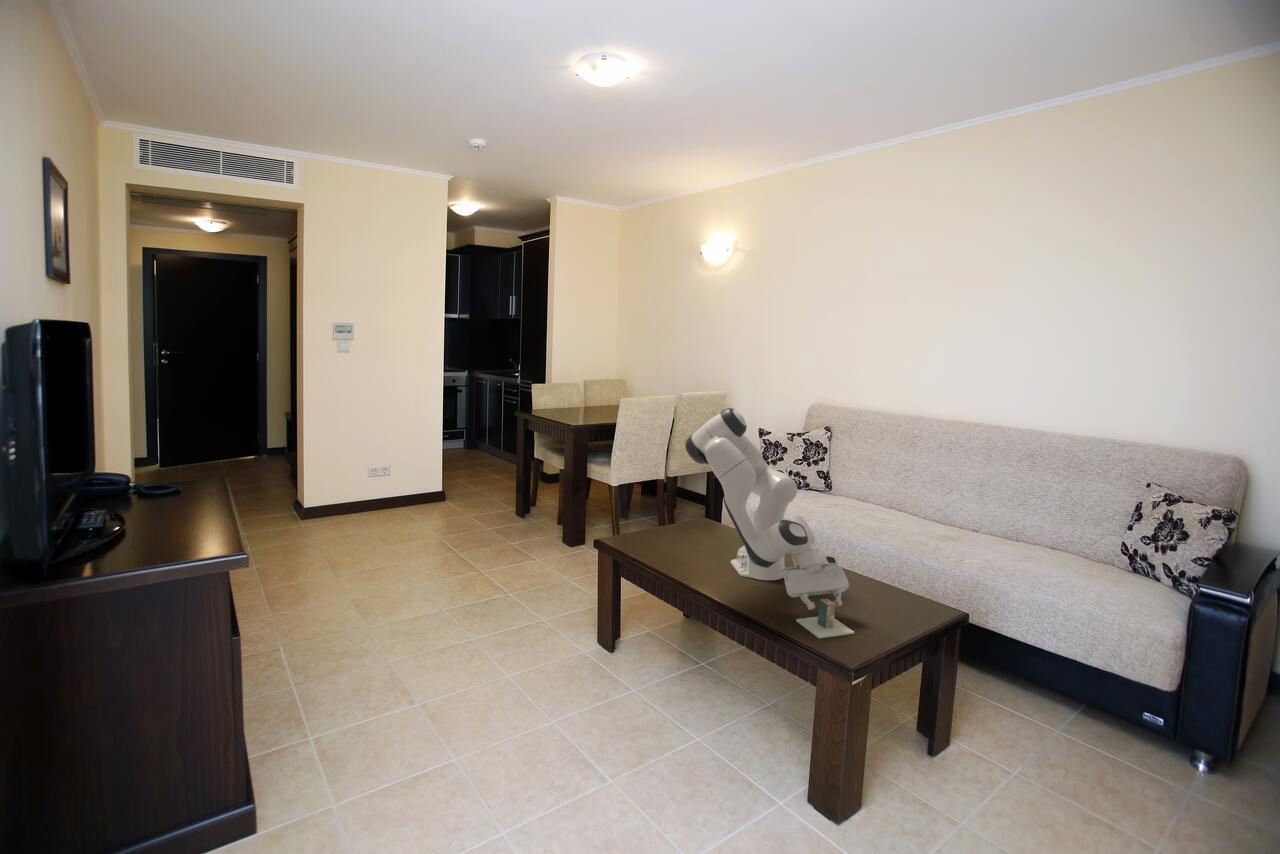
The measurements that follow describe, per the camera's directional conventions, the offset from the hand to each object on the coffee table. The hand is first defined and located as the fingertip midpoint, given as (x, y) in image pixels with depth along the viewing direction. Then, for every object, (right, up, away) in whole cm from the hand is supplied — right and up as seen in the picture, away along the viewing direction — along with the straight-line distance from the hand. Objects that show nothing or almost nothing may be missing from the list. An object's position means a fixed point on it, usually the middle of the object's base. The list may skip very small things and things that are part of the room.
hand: (825, 607), depth 194 cm
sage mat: (0, -6, 0) cm, 6 cm away
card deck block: (0, -5, 0) cm, 5 cm away
